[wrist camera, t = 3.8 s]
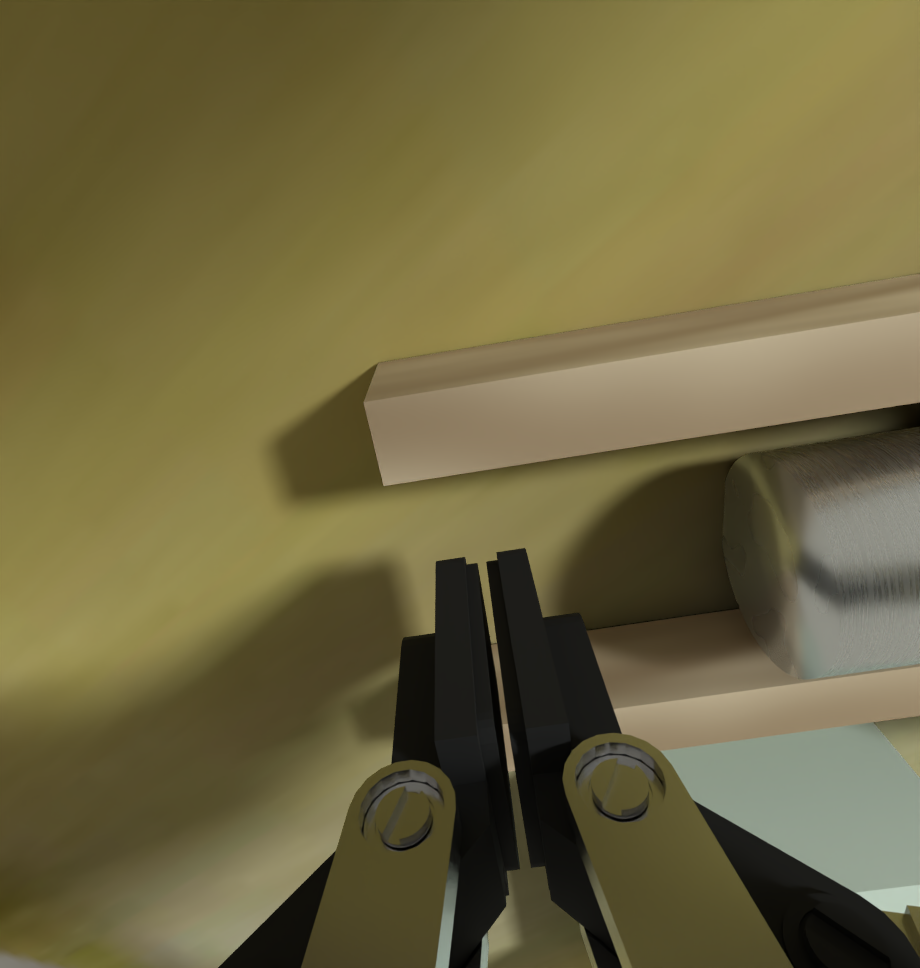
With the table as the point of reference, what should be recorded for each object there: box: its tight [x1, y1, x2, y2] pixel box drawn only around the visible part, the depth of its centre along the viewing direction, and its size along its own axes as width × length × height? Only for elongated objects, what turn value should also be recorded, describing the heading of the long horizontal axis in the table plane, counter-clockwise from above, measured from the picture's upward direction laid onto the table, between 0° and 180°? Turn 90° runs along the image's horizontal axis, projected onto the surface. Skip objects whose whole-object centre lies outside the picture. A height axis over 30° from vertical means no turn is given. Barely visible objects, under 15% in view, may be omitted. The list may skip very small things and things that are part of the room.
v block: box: [661, 722, 920, 913], centre depth 17 cm, size 11×8×4 cm
